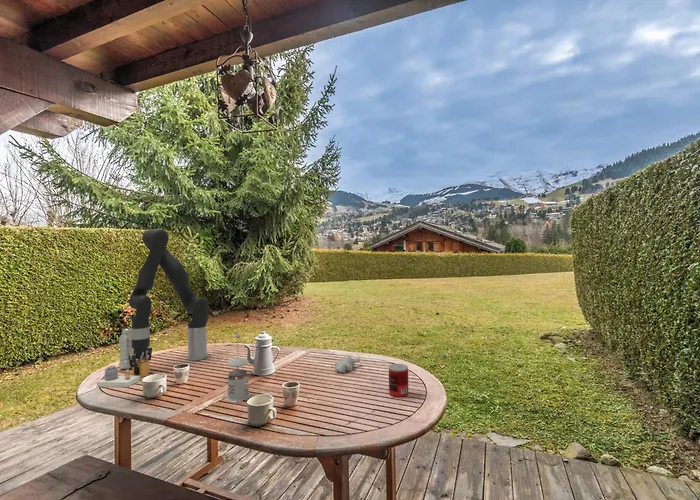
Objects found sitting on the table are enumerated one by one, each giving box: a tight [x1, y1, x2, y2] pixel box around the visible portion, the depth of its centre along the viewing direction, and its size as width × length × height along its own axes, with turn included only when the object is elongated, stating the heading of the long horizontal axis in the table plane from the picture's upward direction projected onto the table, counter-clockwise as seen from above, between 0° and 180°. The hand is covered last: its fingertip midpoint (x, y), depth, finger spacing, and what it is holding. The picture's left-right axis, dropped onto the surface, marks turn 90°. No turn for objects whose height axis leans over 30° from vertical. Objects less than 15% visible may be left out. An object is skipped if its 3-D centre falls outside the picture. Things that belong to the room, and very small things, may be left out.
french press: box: [225, 333, 252, 402], centre depth 140 cm, size 10×12×25 cm
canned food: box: [388, 363, 409, 398], centre depth 140 cm, size 8×8×11 cm
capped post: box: [104, 365, 119, 381], centre depth 155 cm, size 5×5×5 cm
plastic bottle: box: [118, 327, 134, 370], centre depth 175 cm, size 6×7×20 cm
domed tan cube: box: [131, 359, 150, 378], centre depth 166 cm, size 5×5×7 cm
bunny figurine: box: [334, 356, 361, 374], centre depth 171 cm, size 10×5×15 cm
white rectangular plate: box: [96, 375, 141, 388], centre depth 155 cm, size 8×14×2 cm, turn 86°
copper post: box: [124, 368, 131, 380], centre depth 155 cm, size 2×2×4 cm
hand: (141, 372), depth 166 cm, fingers closed on domed tan cube, 5 cm apart
